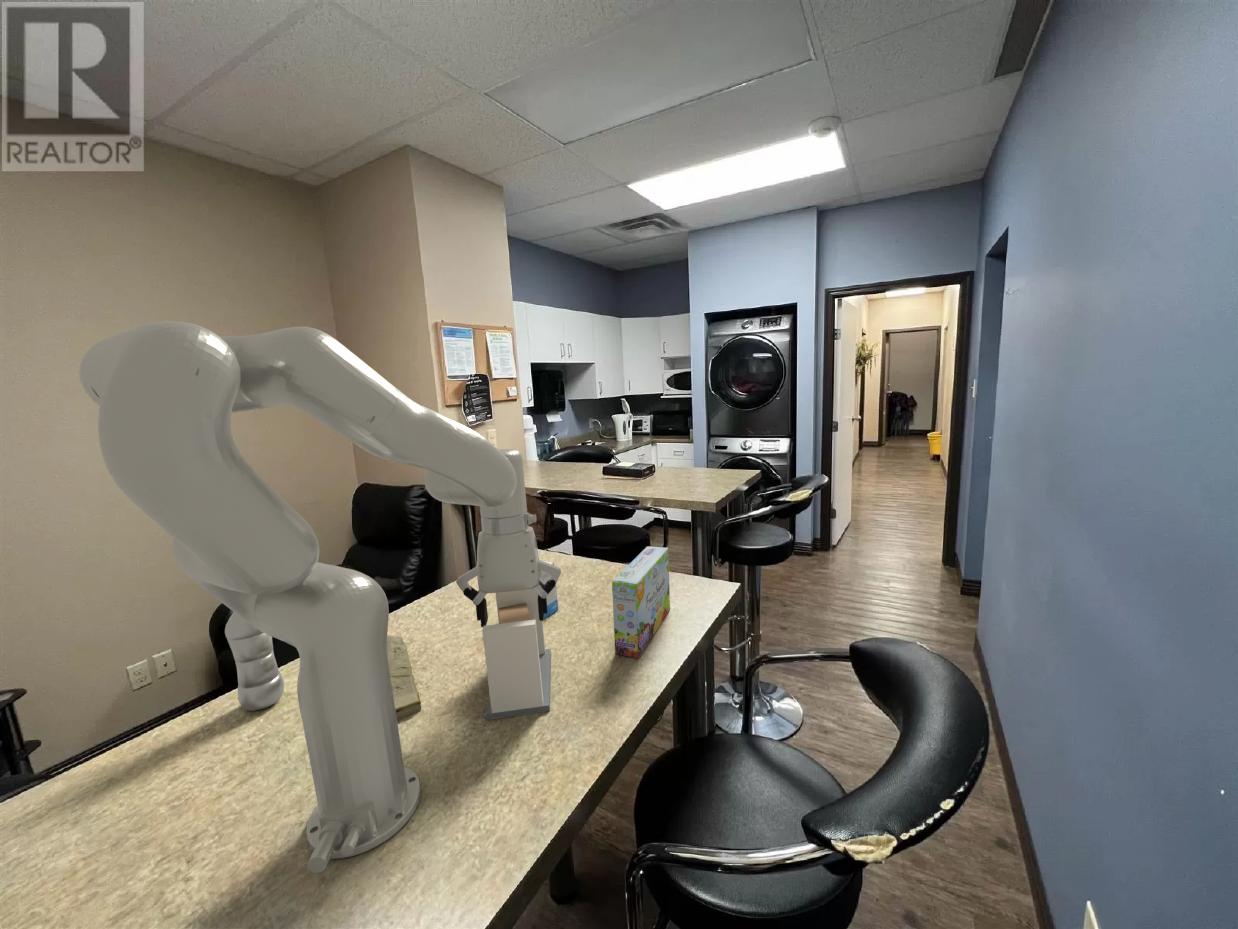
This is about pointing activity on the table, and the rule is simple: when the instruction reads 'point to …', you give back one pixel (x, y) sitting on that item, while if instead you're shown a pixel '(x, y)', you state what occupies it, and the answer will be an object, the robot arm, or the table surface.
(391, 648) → the stone slab
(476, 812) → the table surface
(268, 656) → the plastic bottle
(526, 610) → the brown wooden block
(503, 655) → the stand
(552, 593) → the ink box
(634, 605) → the snack box
